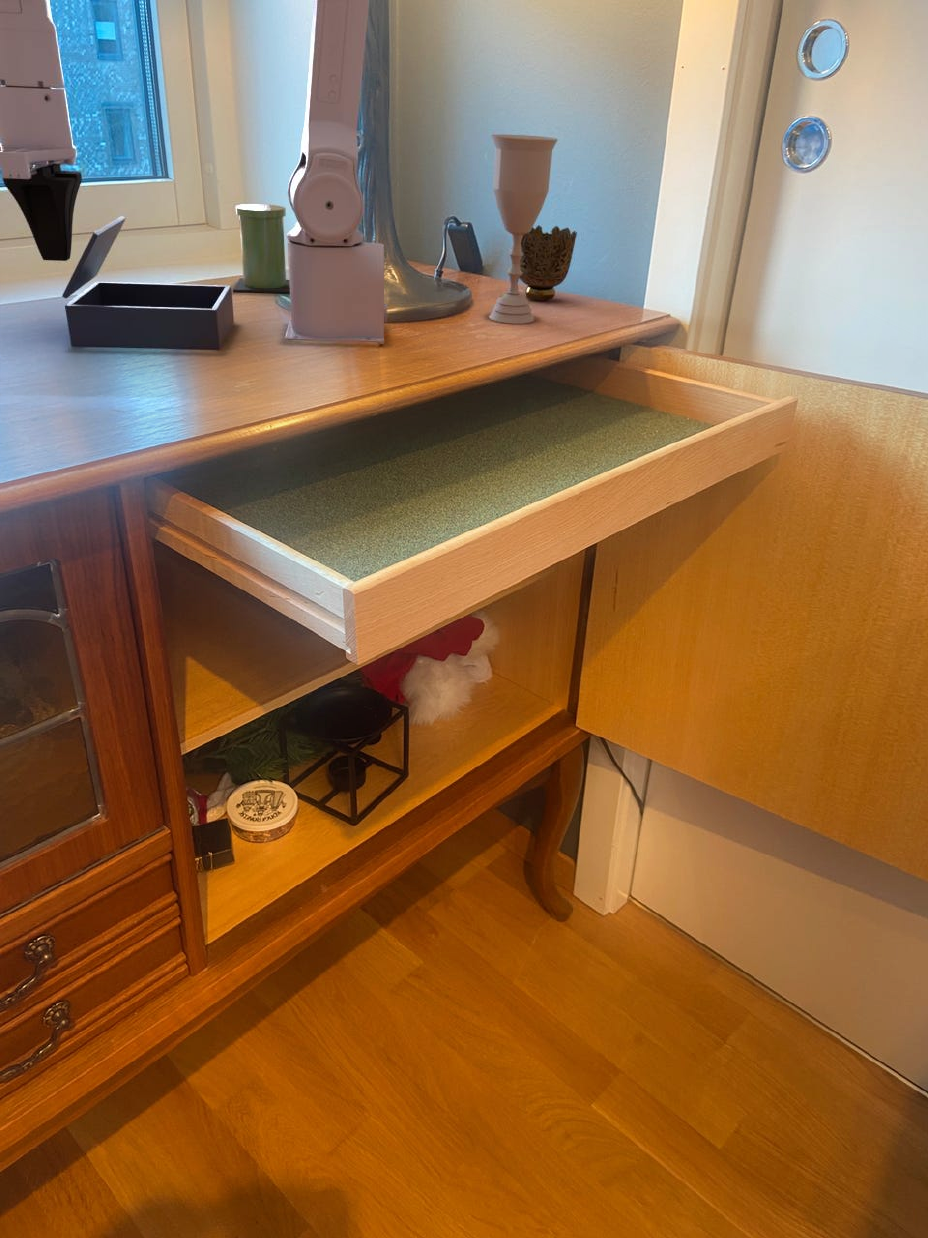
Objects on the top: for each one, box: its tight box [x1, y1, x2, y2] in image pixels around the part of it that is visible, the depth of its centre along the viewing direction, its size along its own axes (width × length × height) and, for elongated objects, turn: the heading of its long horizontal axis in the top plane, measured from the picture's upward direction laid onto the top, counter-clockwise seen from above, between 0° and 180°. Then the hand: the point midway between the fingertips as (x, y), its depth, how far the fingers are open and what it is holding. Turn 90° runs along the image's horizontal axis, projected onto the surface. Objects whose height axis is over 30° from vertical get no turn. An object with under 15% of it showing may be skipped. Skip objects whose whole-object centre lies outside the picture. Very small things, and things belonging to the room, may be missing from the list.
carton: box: [64, 281, 235, 351], centre depth 87 cm, size 13×11×4 cm
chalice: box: [488, 134, 558, 325], centre depth 99 cm, size 7×7×18 cm
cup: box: [519, 225, 578, 302], centre depth 111 cm, size 8×7×8 cm
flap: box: [61, 215, 127, 299], centre depth 84 cm, size 6×11×1 cm
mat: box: [232, 277, 290, 295], centre depth 110 cm, size 7×7×1 cm
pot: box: [235, 203, 287, 289], centre depth 108 cm, size 6×6×8 cm
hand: (56, 259), depth 84 cm, fingers closed
